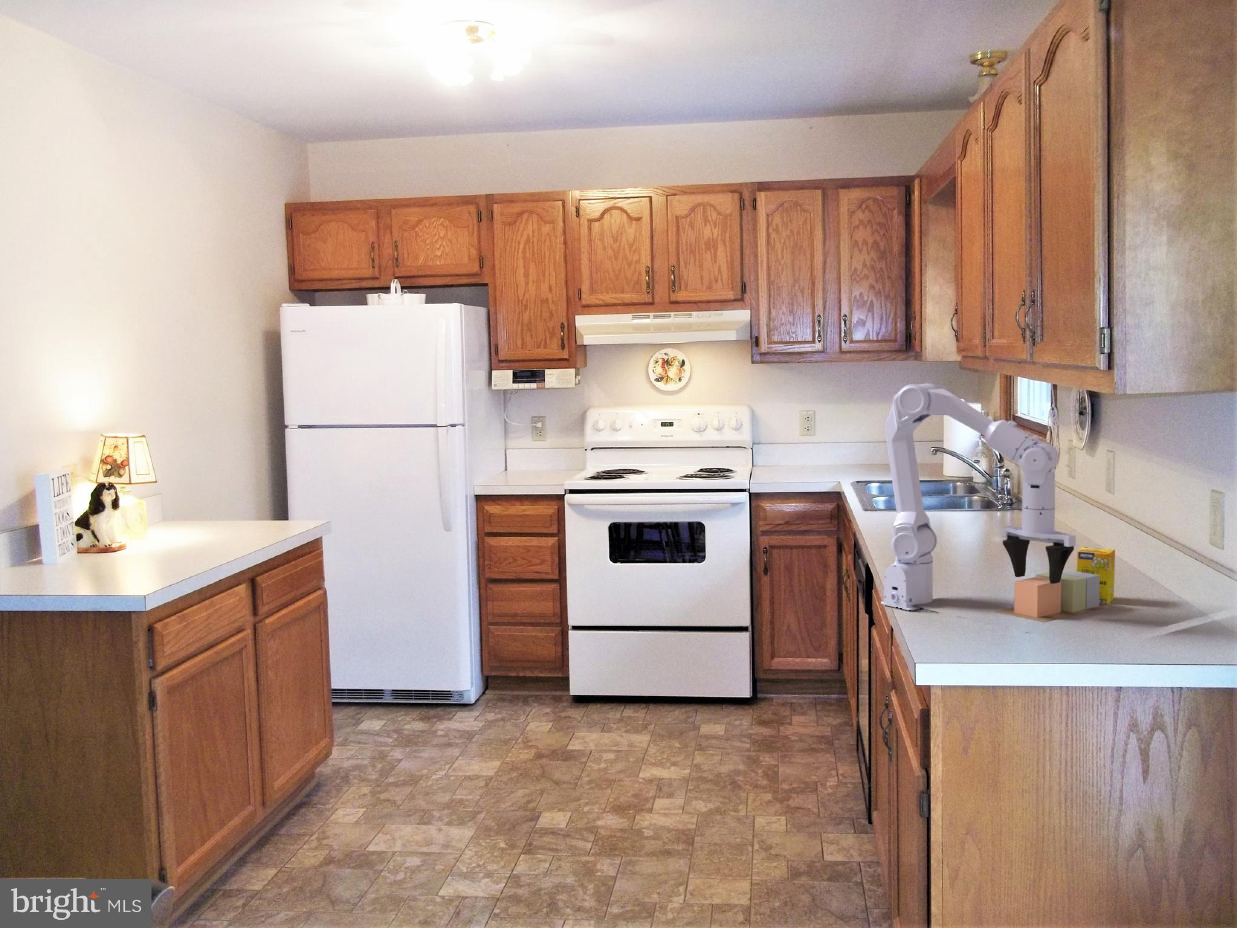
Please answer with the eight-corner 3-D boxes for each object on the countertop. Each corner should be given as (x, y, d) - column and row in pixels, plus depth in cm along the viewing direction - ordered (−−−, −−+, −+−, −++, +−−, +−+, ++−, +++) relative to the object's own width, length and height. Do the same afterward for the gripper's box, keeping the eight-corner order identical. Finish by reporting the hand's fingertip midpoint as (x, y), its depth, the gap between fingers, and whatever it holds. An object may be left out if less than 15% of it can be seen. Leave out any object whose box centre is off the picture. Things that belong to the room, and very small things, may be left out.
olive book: (1072, 612, 206) (1073, 580, 206) (1035, 605, 213) (1036, 574, 212) (1085, 609, 208) (1086, 578, 208) (1048, 602, 215) (1049, 571, 214)
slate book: (1086, 609, 208) (1087, 577, 208) (1049, 601, 215) (1050, 571, 215) (1099, 606, 211) (1099, 575, 210) (1062, 599, 217) (1062, 569, 217)
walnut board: (1044, 627, 199) (1044, 622, 199) (993, 616, 208) (993, 611, 208) (1108, 612, 210) (1108, 606, 210) (1057, 602, 219) (1058, 597, 219)
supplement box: (1075, 606, 216) (1076, 550, 215) (1082, 600, 221) (1083, 546, 220) (1108, 609, 212) (1109, 553, 211) (1114, 603, 217) (1115, 548, 216)
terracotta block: (1037, 617, 203) (1037, 585, 202) (1014, 612, 207) (1014, 581, 206) (1060, 612, 207) (1061, 580, 206) (1037, 607, 211) (1038, 576, 210)
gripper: (1086, 509, 201) (1084, 583, 202) (1019, 502, 213) (1018, 571, 214) (1062, 513, 197) (1061, 587, 199) (995, 505, 209) (994, 575, 211)
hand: (1037, 579), depth 206 cm, fingers open, 7 cm apart
